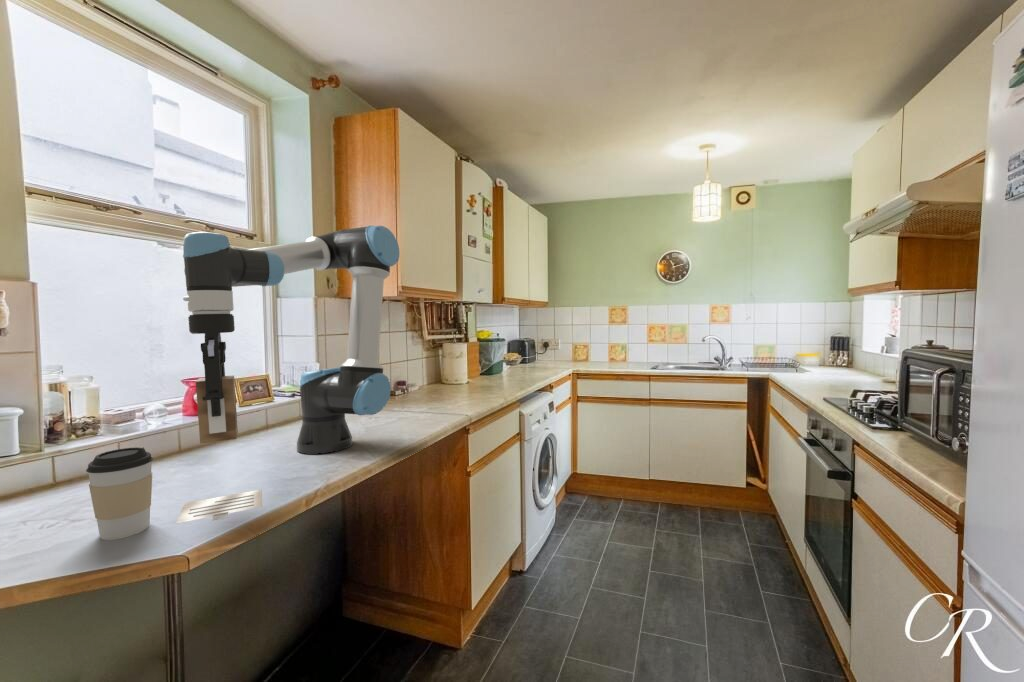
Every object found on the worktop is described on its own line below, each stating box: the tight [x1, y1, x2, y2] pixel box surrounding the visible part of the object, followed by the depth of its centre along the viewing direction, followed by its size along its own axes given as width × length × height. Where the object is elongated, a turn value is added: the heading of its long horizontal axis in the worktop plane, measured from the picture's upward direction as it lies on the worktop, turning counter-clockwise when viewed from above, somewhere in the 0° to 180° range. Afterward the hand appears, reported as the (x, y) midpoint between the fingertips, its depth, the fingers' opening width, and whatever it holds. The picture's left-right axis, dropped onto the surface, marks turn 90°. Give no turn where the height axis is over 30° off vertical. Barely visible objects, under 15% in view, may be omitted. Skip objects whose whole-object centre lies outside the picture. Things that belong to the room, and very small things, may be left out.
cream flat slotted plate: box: [175, 488, 263, 524], centre depth 92 cm, size 17×15×1 cm
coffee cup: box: [85, 446, 154, 541], centre depth 81 cm, size 9×9×15 cm
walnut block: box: [195, 375, 239, 445], centre depth 91 cm, size 6×6×12 cm
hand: (219, 428), depth 92 cm, fingers closed on walnut block, 6 cm apart
